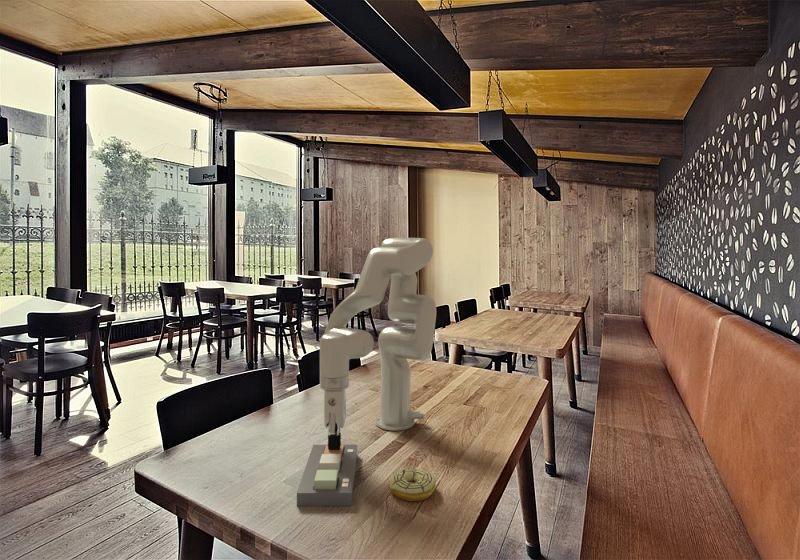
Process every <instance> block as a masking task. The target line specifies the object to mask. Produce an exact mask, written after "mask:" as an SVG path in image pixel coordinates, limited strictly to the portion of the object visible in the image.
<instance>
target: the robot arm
mask: <svg viewBox="0 0 800 560" xmlns="http://www.w3.org/2000/svg"><path fill="white" fill-rule="evenodd" d="M433 254H434V249H433V245H432V242H431V241H430V240H429V239H427V238H425V237H423V238H422V237H390V238H386V239H385V240H383V241H382V243H381V245H380V246H378V247H374V248H373V249H371V250H370V251H369V252H368V254H367V257H366V258H365V259H366V260H365V262H364V265H363V267H362V269H361V272H360V275H359V278H358V280H357V283H356V287H355V289H354V291H353V292H352V293H351V294H349V295H348V296H347V297H345V299H343V300H342V301H341V302H340V303H339V304H338V305H337V306H336V307H335V309H334V310H333V311H332V312H331V315H330V317H329V319H328V322H327V325H326V327H325V330H324V333H323V334H322V336H321V337H319V338H320V339H319V388H320V389H322V391H324V392H323V414H324V415H323V422H324V428H326V429H328V430H327V431H328V434H327V445H328V449H329V450H340V447H341V445H342V443H341V442H342V440H341V439H342V436H341V435H342V433H341V429H343V428H344V426H345V424H346V418H347V404H346V403H347V401H346V400H347V399H346V398H347V397H346V389H348V388H349V387H350V384H349V383H350V382H349V381H350V360H351V359H353V360H354V359H361V358H365V357H366V356H368V355H370V353H371V352H372V351H373V348H374V345H375V340H374V337H373V335H372V333H370V332H368V331H367V330H363V329H357V328H352V327H347V325H348V323H349V322H350V321H351V319H352V318H354V316H356V315H357V314H358V313H360V312H362V311H365V310H367V309H368V310H369V309H371V308H373V307H375V306H377V305H380V304H381V303H382V302H383V301H384V297H385V295H386V291H387V289H388V286H389V283H390V289H389V290H390V291H389V298H388V304H387V317H388V318H389V320H390V321H392V322H395V323H400V324H401V323H402V324H407V325H415V328H409V327H404V326H403V327H402V326H396V325H395V326H387V327H385V328H384V329H382V330H381V331H380V333H379V335H378V339H377V341H378V342H377V343H378V349H379V356H380V415H378V416H377V417H375V425H376V426H377V428H378V427H379V428H380V429H383V430H385V431H386V430H387V431H393V432H395V431H405V430H409V429H411V428H412V427H414V425H415V420H424V419H425V413H423V412H422V413H421V411H420V410H415V411H414V410H412V408H411V376H412V374H411V373H412V371H411V366H410V364H409V361H408V360H413V361H419V362H422V361H426V360H428V358H429V357H430V355H431V352H432V349H433V344H434V335H435V329H436V320H437V305H436V302H435V300H434V299H433V297H431V296H429V295H425V294H417V291H418V290H417V289H418V276H417V274H416V273H417V272H418V271H419V270H421V269H422V268H424V267H426V266H427V265H428V264H429V263H430V262H431V260H432V258H433ZM390 279H391V281H390Z"/></svg>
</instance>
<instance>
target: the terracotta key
mask: <svg viewBox="0 0 800 560" xmlns="http://www.w3.org/2000/svg"><path fill="white" fill-rule="evenodd" d="M325 445H326V447H325V450H324V454H341V456H343V454H344V445H345V444H341V447H340V450H329V449H328V444H325Z"/></svg>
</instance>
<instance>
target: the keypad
mask: <svg viewBox="0 0 800 560" xmlns="http://www.w3.org/2000/svg"><path fill="white" fill-rule="evenodd" d="M326 445H327V444H313V445H312V448H311V450H310V453H309V456H308V459H307V462H306V465H305V468H304V472H303V473H302V476H301V479H300V483H299V486H298V488H297V492H296V506H297V507H342V506H343V507H351V506H352V502H353V493H354V486H355V477H356V476H355V475H356V469H357V459H358V444H343V445H344V454H343V456H341V468H340V472H338V484H337V489H336V490H314V480H315V476H316V473H317V470H319V462H320V459H321V455H322V454H324V450H325V447H326Z"/></svg>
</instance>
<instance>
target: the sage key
mask: <svg viewBox="0 0 800 560" xmlns="http://www.w3.org/2000/svg"><path fill="white" fill-rule="evenodd" d="M337 484H338V470H317V473H316V476H315V480H314V490H336V489H337Z"/></svg>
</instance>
